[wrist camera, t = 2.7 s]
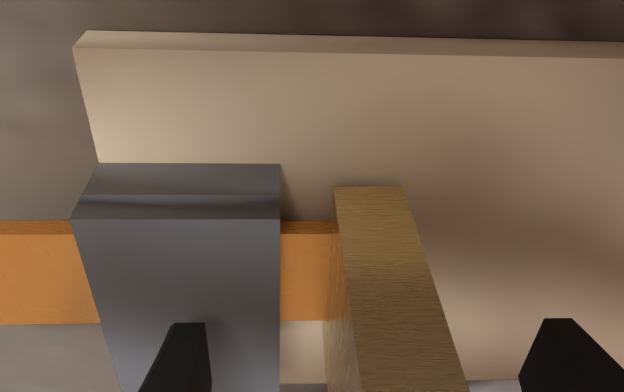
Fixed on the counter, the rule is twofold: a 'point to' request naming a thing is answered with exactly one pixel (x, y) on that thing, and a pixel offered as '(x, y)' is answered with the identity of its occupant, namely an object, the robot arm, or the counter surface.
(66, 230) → the tan wooden block
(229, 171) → the strap board
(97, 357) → the counter surface
